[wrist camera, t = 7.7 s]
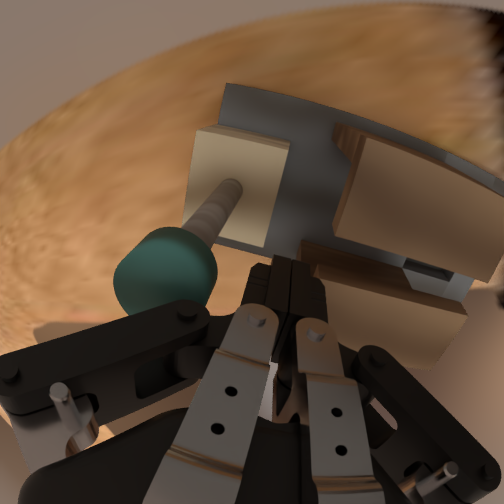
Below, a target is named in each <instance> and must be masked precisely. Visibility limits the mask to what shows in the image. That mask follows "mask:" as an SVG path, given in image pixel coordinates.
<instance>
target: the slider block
mask: <svg viewBox="0 0 504 504" xmlns="http://www.w3.org/2000/svg"><path fill="white" fill-rule="evenodd" d="M289 146H290V141H288V140H284V139H280V138H276V137H272V136H268V135H264V134H259V133H255V132H251V131H246V130H242V129H237V128H232V127H227V126H223V125H217V124H215V125H212V126H208V127H205V128H202V129H198V130H197V131H196V137H195V142H194V148H193V154H192V160H191V166H190V172H189V178H188V185H187V192H186V198H185V205H184V213H183V220H182V227H181V228H177V227H163V228H159V229H156V230H154V231H152V232H150V233H149V234H148V235H147V236H146V237H145V238H144V239H143V240H142V241H141V242H140V243H139V244H138V245H137V246H136V247H135V248H134V249H133V250H132V251H131V252H130V253H129V254H128V255H127V256H126V257H125V258H124V259H123V260H122V261H121V262H120V263H119V265H118V266H117V268H116V270H115V273H114V278H113V284H114V291H115V294H116V297H117V299H118V301H119V303H120V305H121V306H122V308H123V309H124V310H125V312H126V313H127V314H128V315H129V316H130V315H133V314H136V313H139V312H142V311H145V310H148V309H151V308H154V307H157V306H160V305H164V304H167V303H170V302H173V301H176V300H182V299H186V300H192V301H196V302H198V303H200V304H202V305H203V306H206V304H207V302H208V299H209V297H210V295H211V292H212V290H213V288H214V286H215V283H216V280H217V275H218V269H217V263H216V260H215V257H214V255H213V253H212V251H211V250H210V249H211V248H212V246H213V244H214V242H215V241H216V239H217V237H218V236H220V237H224V238H228V239H232V240H236V241H239V242H243V243H247V244H251V245H255V246H259V247H262V248H263V246H264V242H265V238H266V234H267V231H268V227H269V223H270V219H271V216H272V212H273V208H274V204H275V200H276V197H277V193H278V189H279V185H280V181H281V177H282V174H283V170H284V166H285V162H286V158H287V154H288V150H289Z"/></svg>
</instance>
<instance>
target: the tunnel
mask: <svg viewBox="0 0 504 504" xmlns="http://www.w3.org/2000/svg"><path fill="white" fill-rule="evenodd" d="M218 125H223V126H227V127H232V128H237V129H242V130H246V131H251V132H255V133H259V134H264V135H268V136H272V137H276V138H280V139H284V140H288V141H290V146H289V150H288V154H287V158H286V162H285V166H284V170H283V174H282V177H281V181H280V185H279V189H278V193H277V197H276V200H275V204H274V208H273V212H272V216H271V219H270V223H269V227H268V231H267V234H266V238H265V242H264V246H263V248H262V247H259V246H255V245H251V244H247V243H243V242H239V241H236V240H232V239H228V238H224V237H220V236H218V237H217V239H216V241H215V242H214V243H215V244H219V245H223V246H227V247H231V248H234V249H238V250H242V251H246V252H250V253H253V254H257V255H261V256H265V257H269V258H273V255H274V254H275V255H279V256H283V257H287V258H291V261H292V259H295V260H298V261H302V262H306V263H310V274H311V276H312V277H316V278H319V279H320V280H321V282H322V283H323V284H324V286H325V292H326V303H327V313H328V324H329V325H330V326H331V327H332V328H333V329H334V330H335V332H336V335H337V340H338V342H339V343H341V344H342V345H344V346H346V347H348V348H350V349H352V350H354V351H357V352H358V351H359V350H360V348H361V347H363V346H365V345H375V346H379V347H381V348H383V349H385V350H386V351H387V352H389V353H390V354H391V355H392V356H393V357H394V358H395V359H396V360H397V361H398V362H399V363H400V364H401V365H402V366H403V367H410V368H417V369H424V370H431V369H432V368H433V366H434V365H435V364H436V362H437V361H438V359H439V358H440V357H441V356H442V354H443V353H444V352H445V350H446V349H447V347H448V346H449V345H450V343H451V341H452V340H453V339H454V337H455V336H456V334H457V333H458V331H459V330H460V328H461V327H462V325H463V324H464V322H465V321H466V319H467V317H468V315H467V313H466V311H465V309H464V308H463V306H462V304H461V302H462V301H463V299H464V297H465V295H466V294H467V292H468V290H469V288H470V287H471V285H472V283H473V281H474V279H477V280H479V281H482V282H485V283H488V282H489V280H490V279H491V277H492V275H493V273H494V271H495V269H496V267H497V265H498V263H499V261H500V259H501V257H502V255H503V253H504V181H502V180H500V179H499V178H497V177H495V176H493V175H491V174H490V173H488V172H486V171H484V170H482V169H481V168H479V167H477V166H475V165H473V164H471V163H469V162H467V161H465V160H463V159H461V158H459V157H457V156H455V155H453V154H451V153H449V152H447V151H445V150H442V149H440V148H438V147H436V146H434V145H431V144H429V143H427V142H425V141H422V140H420V139H418V138H415V137H413V136H410V135H408V134H406V133H403V132H401V131H398V130H396V129H393V128H390V127H388V126H385V125H382V124H380V123H377V122H374V121H371V120H369V119H366V118H363V117H360V116H357V115H354V114H351V113H348V112H345V111H341V110H338V109H335V108H332V107H328V106H325V105H321V104H318V103H314V102H311V101H307V100H303V99H300V98H296V97H292V96H288V95H284V94H279V93H275V92H271V91H266V90H261V89H257V88H252V87H247V86H241V85H236V84H230V83H226V87H225V91H224V96H223V101H222V105H221V110H220V115H219V120H218Z"/></svg>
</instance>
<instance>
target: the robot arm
mask: <svg viewBox="0 0 504 504" xmlns="http://www.w3.org/2000/svg"><path fill="white" fill-rule="evenodd" d="M271 355H272V356H271ZM270 357H271V362H274V363H278V370H277V372H276V374H275V376H274V379H273V401H272V422H271V421H269V420H266V419H264V418H262V417H259V416H258V413H259V409H260V405H261V401H262V398H263V393H264V390H265V386H266V382H267V378H268V374H269V370H270V365H269V361H270ZM198 379H202V380H201V383H200V385H199V387H198V389H197V391H196V393H195V396H194V398H193V400H192V402H191V404H190V407H189V408H180V409H174V410H170V411H167V412H164V413H161V414H159V415H157V416H155V417H153V418H151V419H149V420H147V421H145V422H143V423H141V424H139V425H137V426H135V427H133V428H131V429H129V430H127V431H125V432H123V433H121V434H119V435H116V436H114V437H112V438H110V439H108V440H106V441H103V442H101V443H99V444H97V445H95V446H92V447H90V448H88V449H86V450H84V449H85V448H87V447H89V446H90V445H92V444H93V443H94V442H95V441H96V439H97V437H98V434H99V426H102V425H104V424H107V423H109V422H112V421H114V420H116V419H119V418H121V417H123V416H126V415H128V414H130V413H133V412H135V411H137V410H139V409H142V408H144V407H146V406H148V405H151V404H153V403H155V402H157V401H159V400H162V399H164V398H166V397H168V396H170V395H172V394H174V393H176V392H178V391H181V390H183V389H185V388H187V387H189V386H191V385H193V384H194V383H196V382H197V381H198ZM374 398H376V399H377V400H378V401H379V402H380V403H381V404H382V406H383V407H384V408H385V409H386V410H387V411H388V412H389V413H390V414H391V415H392V416H393V417H394V418H395V420H396V421H397V425H398V428H397V430H395V429H393V428H392V427H391V426H390V425H389V424H388V423H387V422H386V421H385V420H384V419H383V418H382V416H381V415H380V414H379V413H378V412H377V411H376V410H375V409H374V408H373V407H372V405H371V404H370V403H371V401H372V400H373V399H374ZM0 405H1V406H2V408H3V409H4V411H5V412H6V414H7V415H8V417H9V418H10V421H11V424H12V427H13V430H14V433H15V436H16V439H17V441H18V444H19V447H20V449H21V452H22V454H23V457H24V459H25V461H26V464H27V466H28V468H29V471H30V473H31V475H30V476H29V477H28V478H27V479H26V481H25V482H24V484H23V486H22V488H21V490H20V494H19V498H18V504H472V503H474V502H476V501H478V500H479V499H481V498H482V497H484V496H486V495H487V494H489V493H490V492H492V491H493V490H495V489H496V488H497V487H498V486H499V484H500V481H501V469H500V466H499V464H498V463H497V461H496V460H495V459H494V458H493V457H492V456H491V455H490V454H489V453H488V451H487V450H486V449H485V448H484V447H483V446H482V445H481V444H480V443H479V442H478V441H477V440H476V439H475V438H474V437H473V436H472V435H471V434H470V433H469V432H468V431H467V430H466V429H465V428H464V427H463V426H462V425H461V424H460V423H459V422H458V421H457V420H456V419H455V418H454V417H453V416H452V415H451V414H450V413H449V412H448V411H447V410H446V409H445V408H444V407H443V406H442V405H441V404H440V403H439V402H438V401H437V400H436V399H435V398H434V397H433V396H432V395H431V394H430V393H429V392H428V391H427V390H426V389H425V388H424V387H423V386H422V385H421V384H420V383H419V382H418V381H417V380H416V379H415V378H414V377H413V376H412V375H411V374H410V373H409V372H408V371H407V370H406V369H405V368H404V367H403V366H402V365H401V364H400V363H399V362H398V361H397V360H396V359H395V358H394V357H393V356H392V355H391V354H390V353H389V352H387V351H386V350H385V349H383V348H381V347H379V346H375V345H365V346H363V347H361V348H360V350H359V351H358V352H357V351H354V350H352V349H350V348H348V347H346V346H344V345H342V344H341V343H339V342H338V340H337V335H336V332H335V330H334V329H333V328H332V327H331V326H330V325H329V324H328V313H327V303H326V292H325V286H324V284H323V283H322V282H321V280H320V279H319V278H316V277H312V276H311V274H310V263H306V262H302V261H298V260H295V259H292V261H291V258H287V257H283V256H279V255H275V254H274V255H273V258H272V262H271V265H266V264H262V263H257V264H256V265H254V266H253V267H251V270H250V274H249V277H248V281H247V284H246V288H245V291H244V294H243V298H242V301H241V305H240V307H239V308H238V309H237V310H236V312H234V313H232V314H230V315H226V316H210V313H209V311H208V310H207V308H206V307H205V306H203V305H202V304H200V303H198V302H196V301H192V300H186V299H182V300H176V301H173V302H170V303H167V304H164V305H160V306H157V307H154V308H151V309H148V310H145V311H142V312H139V313H136V314H133V315H130V316H127V317H124V318H120V319H117V320H114V321H111V322H108V323H105V324H102V325H98V326H95V327H92V328H89V329H86V330H82V331H79V332H76V333H73V334H70V335H67V336H64V337H60V338H57V339H53V340H50V341H47V342H44V343H40V344H37V345H34V346H30V347H27V348H23V349H20V350H17V351H13V352H10V353H7V354H4V355H1V356H0Z"/></svg>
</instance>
